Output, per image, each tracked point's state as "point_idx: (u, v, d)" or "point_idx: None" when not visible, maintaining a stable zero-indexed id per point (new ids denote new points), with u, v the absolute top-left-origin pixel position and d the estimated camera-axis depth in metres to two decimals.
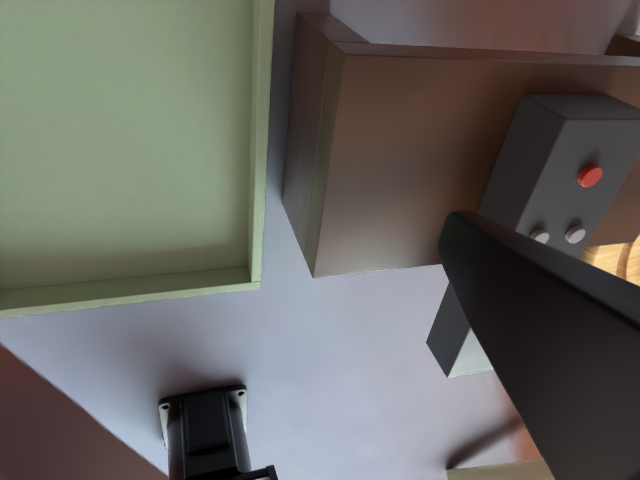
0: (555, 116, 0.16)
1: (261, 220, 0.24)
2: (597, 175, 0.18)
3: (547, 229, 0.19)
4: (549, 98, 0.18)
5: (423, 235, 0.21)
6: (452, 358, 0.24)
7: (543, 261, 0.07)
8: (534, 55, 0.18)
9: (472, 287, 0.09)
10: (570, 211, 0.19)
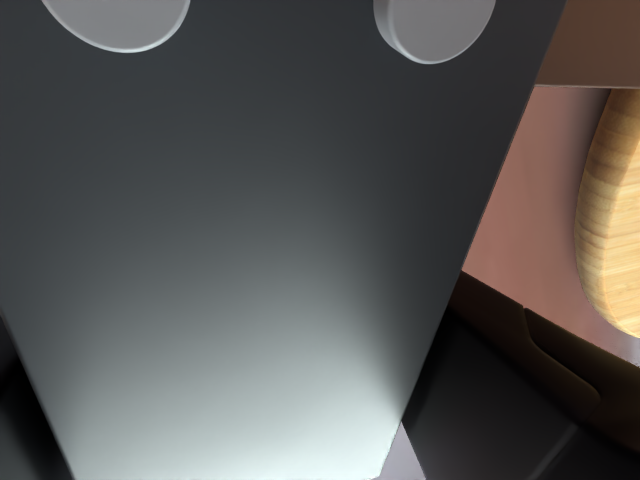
0: None
1: None
2: None
3: None
4: None
5: None
6: None
7: None
8: None
9: None
10: None
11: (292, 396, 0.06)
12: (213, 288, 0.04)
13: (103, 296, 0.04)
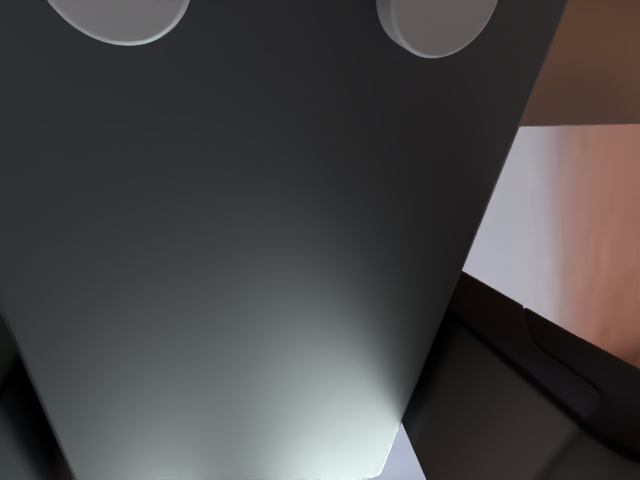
0: None
1: None
2: None
3: None
4: None
5: (548, 70, 0.15)
6: None
7: None
8: None
9: None
10: None
11: (293, 395, 0.06)
12: (214, 285, 0.04)
13: (103, 293, 0.04)
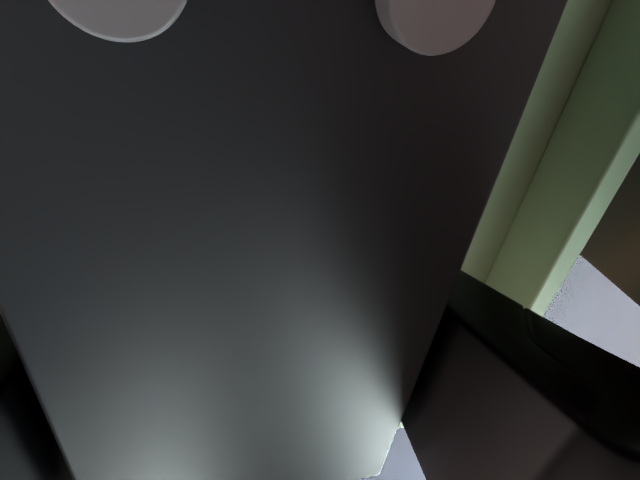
0: None
1: (562, 278, 0.10)
2: None
3: None
4: None
5: None
6: None
7: None
8: None
9: None
10: None
11: (293, 392, 0.06)
12: (213, 284, 0.04)
13: (102, 292, 0.04)
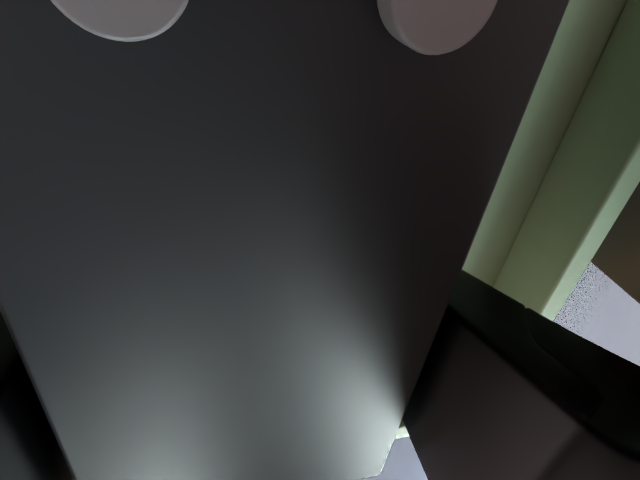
0: None
1: (572, 285, 0.09)
2: None
3: None
4: None
5: None
6: None
7: None
8: None
9: None
10: None
11: (293, 392, 0.06)
12: (214, 283, 0.04)
13: (103, 291, 0.04)
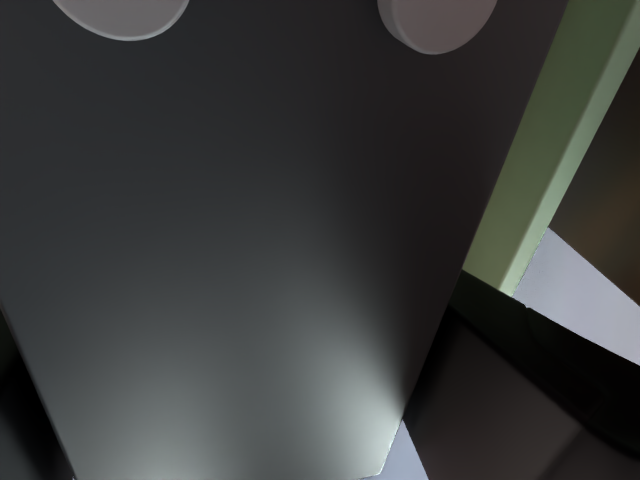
0: None
1: (532, 249, 0.10)
2: None
3: None
4: None
5: None
6: None
7: None
8: None
9: None
10: None
11: (293, 392, 0.06)
12: (214, 282, 0.04)
13: (103, 291, 0.04)
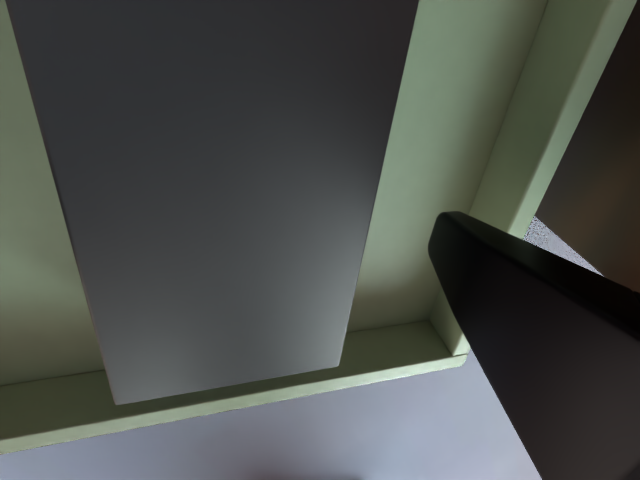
0: None
1: None
2: None
3: None
4: None
5: None
6: None
7: (532, 262, 0.07)
8: None
9: (462, 288, 0.09)
10: None
11: (260, 270, 0.08)
12: (197, 166, 0.06)
13: (120, 165, 0.06)
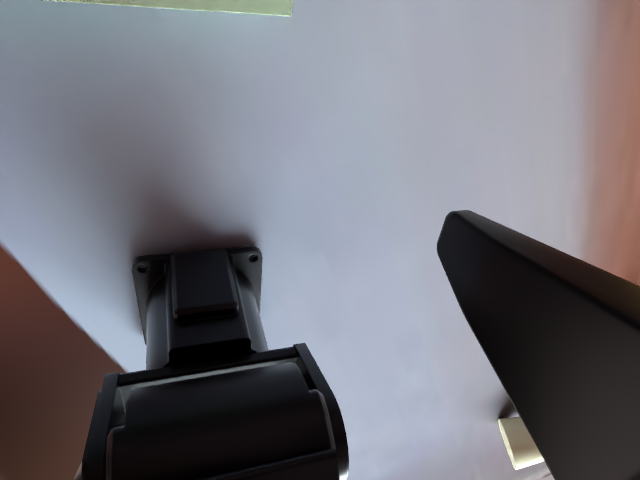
0: None
1: None
2: None
3: None
4: None
5: None
6: None
7: (543, 261, 0.07)
8: None
9: (472, 287, 0.09)
10: None
11: None
12: None
13: None
